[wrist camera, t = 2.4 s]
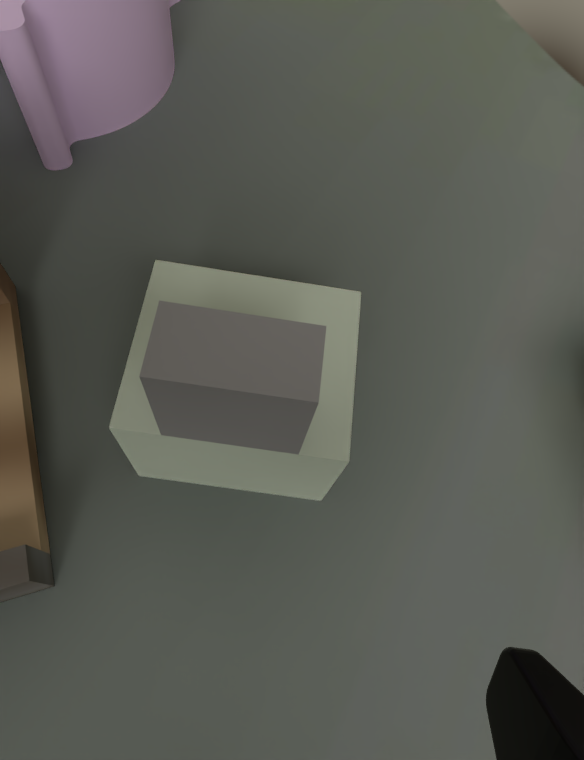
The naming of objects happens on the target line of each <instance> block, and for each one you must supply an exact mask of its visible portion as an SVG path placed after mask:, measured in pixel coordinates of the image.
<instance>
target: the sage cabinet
mask: <svg viewBox="0 0 584 760" xmlns="http://www.w3.org/2000/svg"><path fill="white" fill-rule="evenodd" d="M360 302H361V292H359V291H353V290H346V289H340V288H333V287H327V286H321V285H314V284H308V283H301V282H295V281H289V280H282V279H276V278H269V277H263V276H257V275H250V274H244V273H237V272H231V271H225V270H218V269H212V268H205V267H199V266H192V265H186V264H180V263H173V262H167V261H160V260H155V263H154V267H153V270H152V274H151V277H150V281H149V285H148V288H147V292H146V295H145V299H144V303H143V306H142V310H141V313H140V317H139V321H138V324H137V328H136V331H135V335H134V339H133V342H132V346H131V349H130V353H129V357H128V360H127V364H126V367H125V371H124V375H123V378H122V382H121V385H120V389H119V393H118V396H117V400H116V403H115V407H114V411H113V414H112V418H111V421H110V425H109V429H110V431H111V432H112V434H113V435H114V437H115V439H116V440H117V442H118V443H119V445H120V447H121V448H122V450H123V451H124V453H125V455H126V456H127V458H128V459H129V461H130V463H131V464H132V466H133V467H134V469H135V471H136V472H137V474H138V475H139V476H144V477H151V478H158V479H165V480H173V481H180V482H187V483H194V484H202V485H209V486H216V487H223V488H231V489H238V490H245V491H252V492H260V493H267V494H274V495H281V496H289V497H296V498H303V499H310V500H318V501H321V500H322V499H323V498H324V496H325V495H326V493H327V492H328V491H329V489H330V488H331V487H332V485H333V484H334V482H335V481H336V480H337V478H338V477H339V475H340V474H341V473H342V471H343V470H344V468H345V467H346V466H347V464H348V463H349V458H350V444H351V430H352V416H353V402H354V387H355V373H356V359H357V345H358V331H359V316H360Z"/></svg>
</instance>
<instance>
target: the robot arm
mask: <svg viewBox="0 0 584 760" xmlns="http://www.w3.org/2000/svg"><path fill="white" fill-rule="evenodd" d="M486 707H487V713H488V718H489V723H490V728H491V733H492V738H493V743H494V749H495V754H496V759H497V760H584V695H583V694H582V693H581V692H580V691H579V690H578V689H577V688H576V687H575V686H574V685H572V684H571V683H570V682H569V681H568V680H567V679H566V678H565V677H564V676H563V675H562V674H561V673H560V672H559V671H558V670H557V669H556V668H554V667H553V666H552V665H551V664H550V663H549V662H548V661H547V660H546V659H545V658H544V657H543V656H542V655H540V654H539V653H538V652H536V651H534V650H530V649H522V648H514V647H508V648H505V649H504V650H503V651H502V653H501V655H500V657H499V660H498V662H497V665H496V667H495V670H494V673H493V675H492V678H491V680H490V683H489V686H488V689H487V694H486Z"/></svg>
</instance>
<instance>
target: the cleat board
mask: <svg viewBox="0 0 584 760" xmlns="http://www.w3.org/2000/svg"><path fill="white" fill-rule="evenodd" d="M53 586H54V579H53V571H52V563H51V556H50V548H49V540H48V533H47V525H46V517H45V510H44V502H43V494H42V487H41V479H40V471H39V464H38V456H37V448H36V441H35V433H34V425H33V418H32V410H31V402H30V395H29V387H28V379H27V372H26V364H25V356H24V349H23V341H22V333H21V326H20V318H19V310H18V303H17V295H16V287H15V285H14V284H13V282H12V281H11V279H10V277H9V276H8V274H7V273H6V271H5V270H4V268H3V266H2V265H1V263H0V602H4V601H7V600H10V599H13V598H17V597H20V596H23V595H27V594H30V593H33V592H37V591H40V590H43V589H47V588H50V587H53Z"/></svg>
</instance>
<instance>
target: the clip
mask: <svg viewBox="0 0 584 760" xmlns="http://www.w3.org/2000/svg"><path fill="white" fill-rule="evenodd" d="M179 1H180V0H0V60H1V62H2V65H3V67H4V69H5V72H6V74H7V77H8V79H9V82H10V84H11V87H12V89H13V91H14V94H15V96H16V99H17V101H18V104H19V106H20V109H21V111H22V113H23V116H24V118H25V121H26V123H27V126H28V128H29V130H30V133H31V135H32V138H33V140H34V143H35V145H36V148H37V150H38V152H39V155H40V157H41V160H42V162H43V165H44V166H45V168H47V169H49V170H54V171H55V170H61V169H66V168H68V167H69V166H70V165H71V164H72V162H73V159H72V155H71V152H70V146H71V144H72V143H74V142H76V141H79V140H84V139H89V138H94V137H98V136H101V135H105V134H108V133H111V132H113V131H116V130H118V129H121V128H123V127H125V126H127V125H129V124H131V123H133V122H135V121H136V120H138V119H139V118H141V117H142V116H144V115H145V114H146V113H148V112H149V111H150V110H151V109H152V108H153V107H154V106H156V105H157V103H158V102H159V101H160V100H161V99H162V97H163V96H164V95H165V93H166V92H167V90H168V88H169V86H170V84H171V81H172V79H173V75H174V70H175V57H174V47H173V37H172V27H171V18H170V7H171V6H172V5H174V4H175V3H177V2H179Z"/></svg>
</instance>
